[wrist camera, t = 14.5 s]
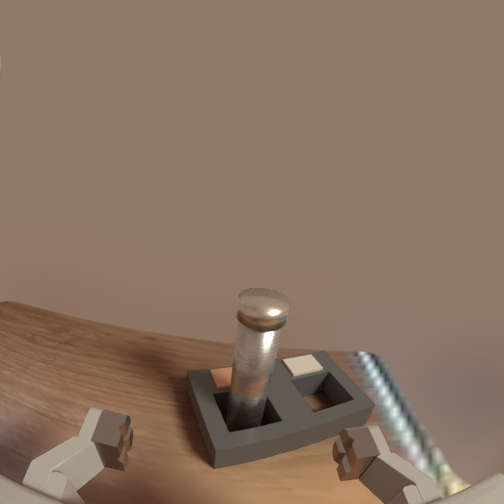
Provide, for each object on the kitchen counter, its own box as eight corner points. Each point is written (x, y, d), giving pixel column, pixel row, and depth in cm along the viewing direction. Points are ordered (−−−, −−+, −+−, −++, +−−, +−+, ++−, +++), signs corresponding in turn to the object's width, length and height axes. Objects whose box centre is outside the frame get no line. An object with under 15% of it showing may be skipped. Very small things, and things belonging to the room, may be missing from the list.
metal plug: (229, 445, 23) (249, 313, 19) (218, 417, 26) (231, 288, 22) (267, 437, 25) (299, 309, 20) (252, 411, 28) (276, 286, 24)
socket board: (214, 468, 21) (216, 448, 20) (187, 391, 29) (187, 368, 28) (365, 423, 27) (376, 402, 26) (318, 369, 35) (324, 348, 34)
